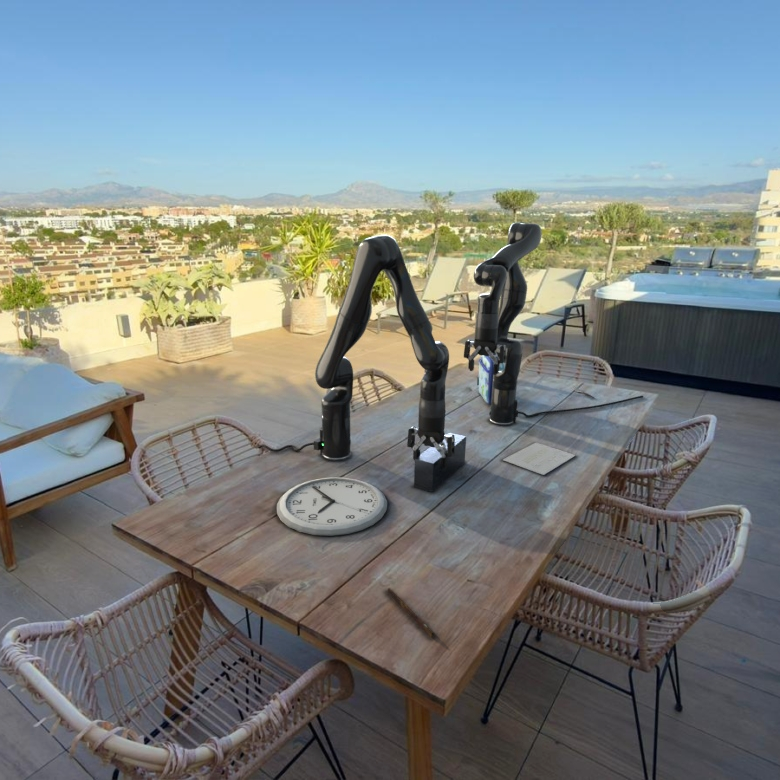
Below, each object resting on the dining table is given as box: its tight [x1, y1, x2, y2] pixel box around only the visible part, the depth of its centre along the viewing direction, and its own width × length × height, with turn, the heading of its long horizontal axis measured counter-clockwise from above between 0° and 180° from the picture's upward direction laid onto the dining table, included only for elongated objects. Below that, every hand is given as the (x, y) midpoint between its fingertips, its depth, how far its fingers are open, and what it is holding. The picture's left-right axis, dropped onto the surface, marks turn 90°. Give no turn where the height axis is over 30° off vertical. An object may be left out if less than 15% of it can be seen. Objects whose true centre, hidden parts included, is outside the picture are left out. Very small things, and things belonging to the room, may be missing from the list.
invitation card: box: [502, 442, 577, 476], centre depth 174 cm, size 21×1×15 cm
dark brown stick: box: [386, 587, 434, 638], centre depth 103 cm, size 15×1×1 cm, turn 34°
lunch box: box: [476, 355, 505, 406], centre depth 230 cm, size 26×11×21 cm, turn 179°
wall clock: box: [276, 476, 388, 537], centre depth 142 cm, size 30×2×30 cm
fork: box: [572, 384, 595, 399], centre depth 243 cm, size 3×16×2 cm, turn 16°
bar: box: [413, 432, 467, 493], centre depth 161 cm, size 24×6×9 cm, turn 149°
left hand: (430, 464), depth 153 cm, fingers open, 8 cm apart
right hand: (483, 372), depth 180 cm, fingers open, 8 cm apart
